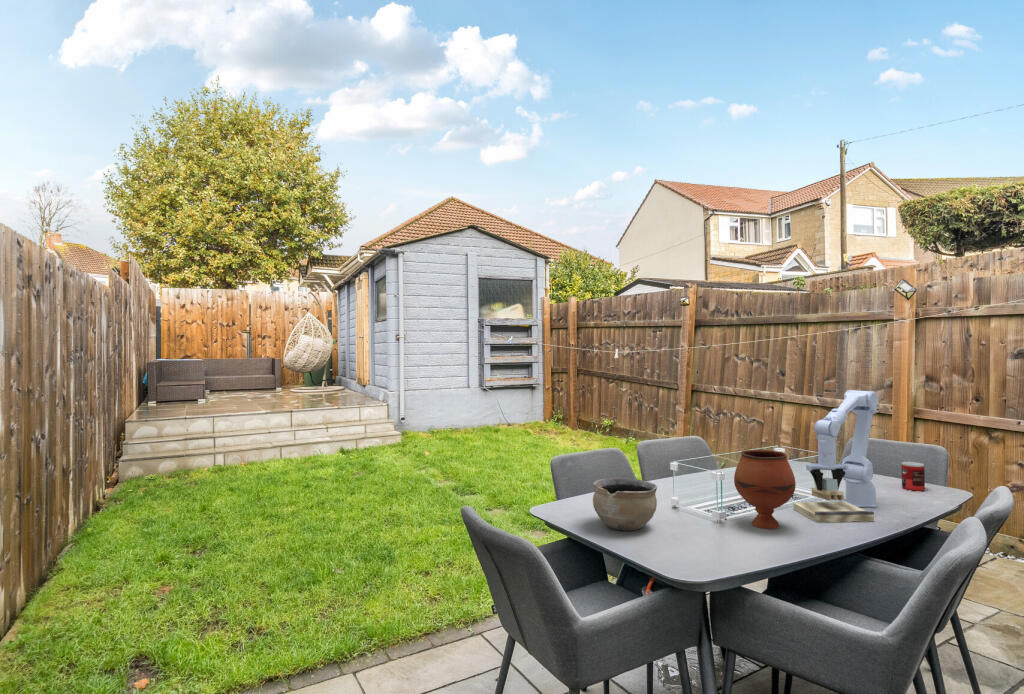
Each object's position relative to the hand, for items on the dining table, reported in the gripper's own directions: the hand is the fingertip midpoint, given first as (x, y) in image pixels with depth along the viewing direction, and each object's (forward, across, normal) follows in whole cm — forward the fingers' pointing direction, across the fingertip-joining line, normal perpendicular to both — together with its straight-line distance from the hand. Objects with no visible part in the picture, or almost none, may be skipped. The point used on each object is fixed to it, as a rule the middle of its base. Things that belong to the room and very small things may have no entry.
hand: (827, 489), depth 204 cm
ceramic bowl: (+9, +77, +12) cm, 79 cm away
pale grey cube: (0, 0, +1) cm, 1 cm away
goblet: (+9, +29, +13) cm, 33 cm away
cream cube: (0, 0, -3) cm, 3 cm away
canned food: (+9, -54, -30) cm, 62 cm away
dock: (+8, 0, +3) cm, 9 cm away
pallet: (+3, 0, 0) cm, 3 cm away
